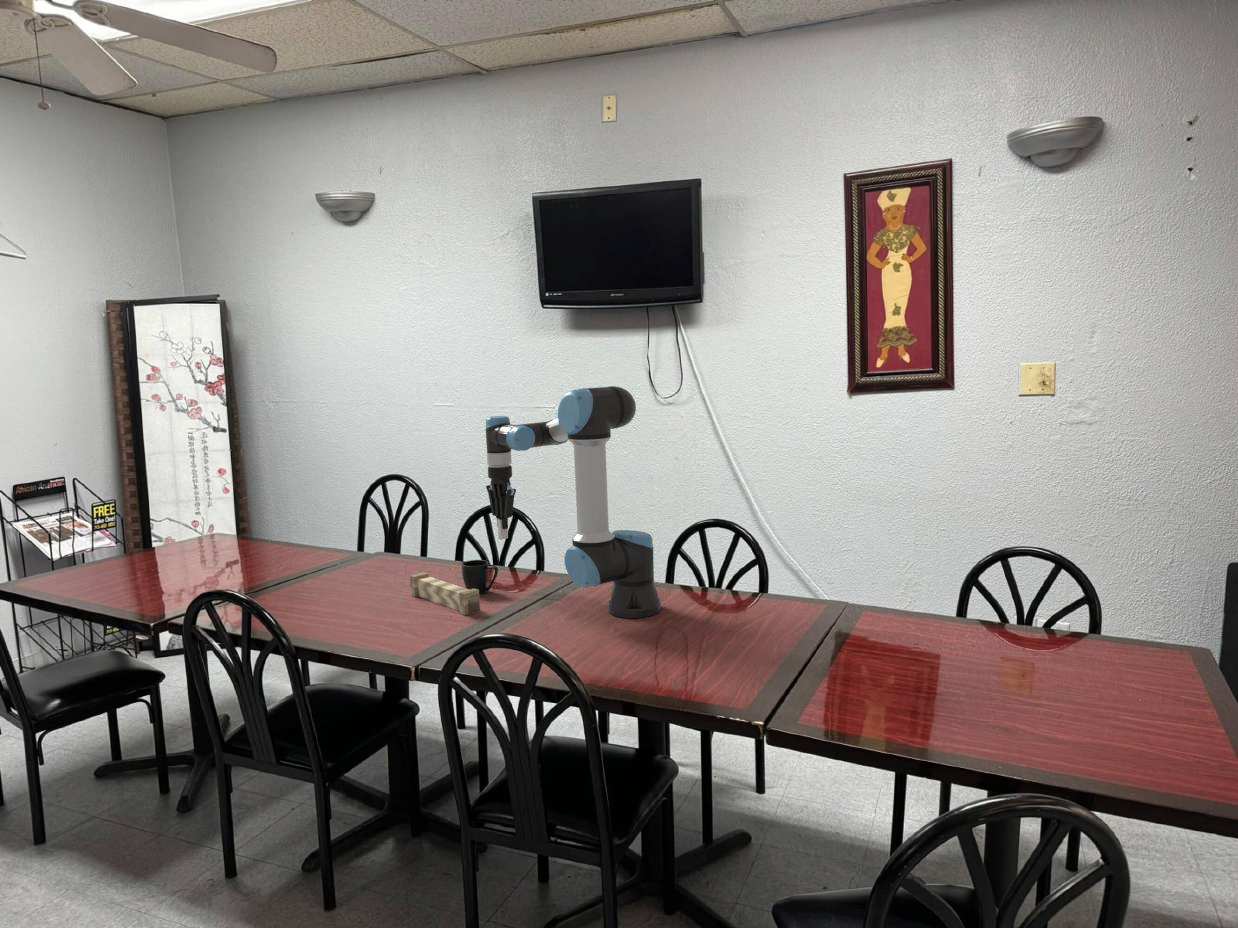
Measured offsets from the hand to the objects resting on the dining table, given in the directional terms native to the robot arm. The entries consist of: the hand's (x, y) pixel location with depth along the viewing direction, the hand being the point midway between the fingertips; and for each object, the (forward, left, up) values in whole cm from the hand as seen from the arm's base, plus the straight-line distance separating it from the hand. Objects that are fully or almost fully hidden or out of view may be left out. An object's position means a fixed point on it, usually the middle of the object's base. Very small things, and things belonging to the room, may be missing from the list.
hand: (503, 538), depth 281 cm
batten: (0, +23, -16) cm, 27 cm away
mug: (0, +10, -16) cm, 19 cm away
